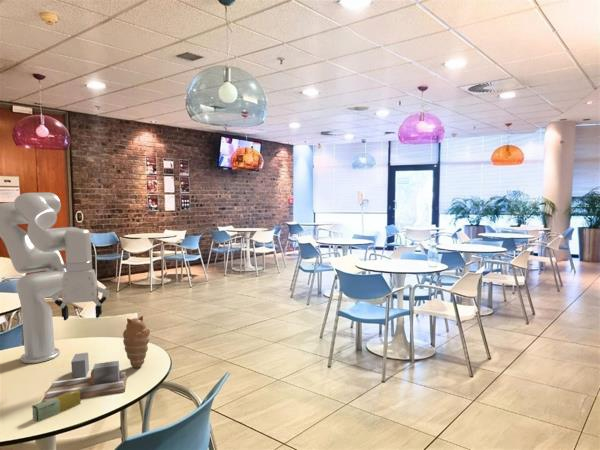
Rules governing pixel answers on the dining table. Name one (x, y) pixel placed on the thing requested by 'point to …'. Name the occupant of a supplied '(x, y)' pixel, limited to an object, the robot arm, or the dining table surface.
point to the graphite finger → (80, 365)
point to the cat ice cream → (136, 341)
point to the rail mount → (92, 382)
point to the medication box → (55, 405)
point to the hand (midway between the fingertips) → (82, 317)
